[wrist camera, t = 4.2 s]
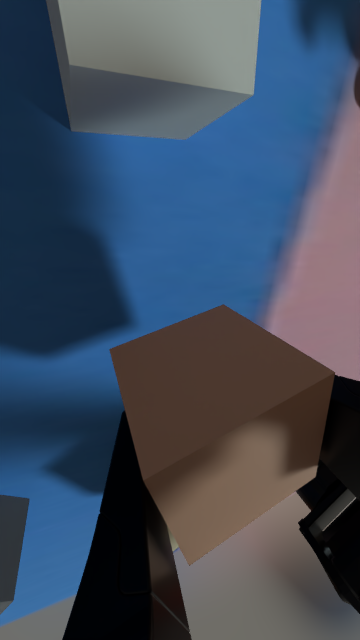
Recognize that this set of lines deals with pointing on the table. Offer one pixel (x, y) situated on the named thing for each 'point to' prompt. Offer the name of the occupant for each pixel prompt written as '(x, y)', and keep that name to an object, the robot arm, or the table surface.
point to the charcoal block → (10, 544)
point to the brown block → (221, 422)
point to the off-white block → (154, 63)
